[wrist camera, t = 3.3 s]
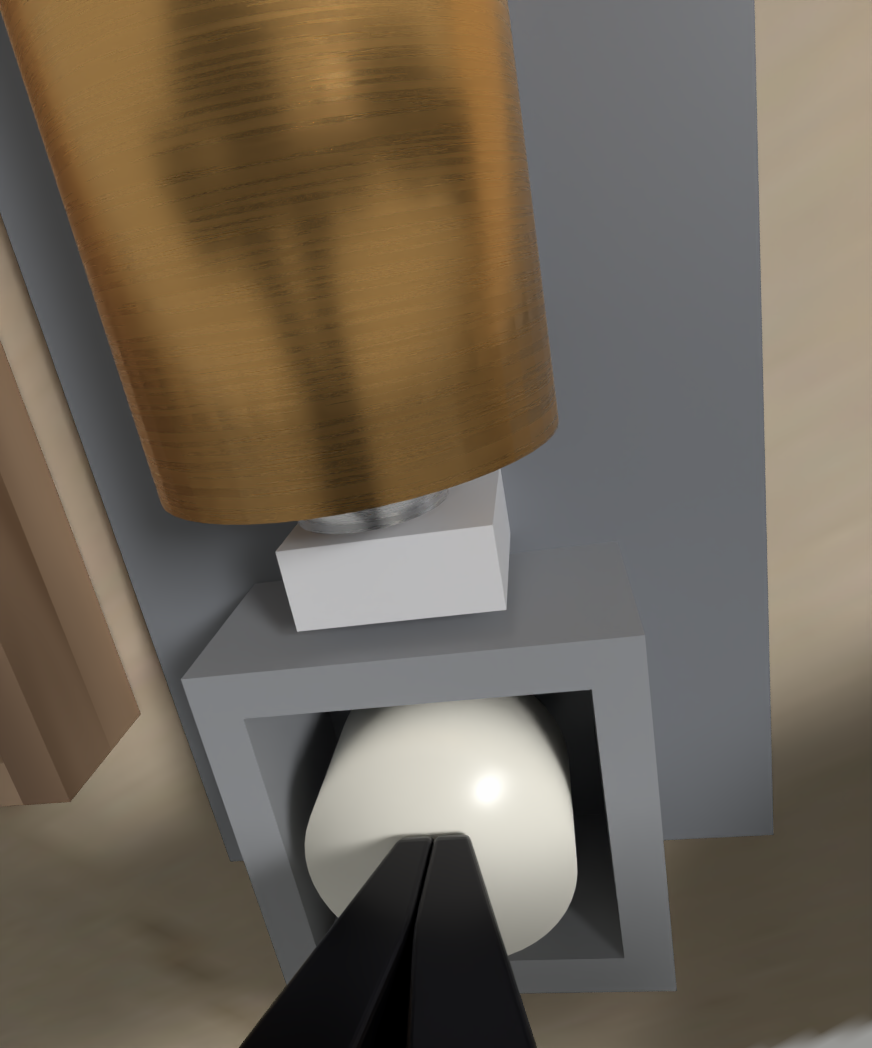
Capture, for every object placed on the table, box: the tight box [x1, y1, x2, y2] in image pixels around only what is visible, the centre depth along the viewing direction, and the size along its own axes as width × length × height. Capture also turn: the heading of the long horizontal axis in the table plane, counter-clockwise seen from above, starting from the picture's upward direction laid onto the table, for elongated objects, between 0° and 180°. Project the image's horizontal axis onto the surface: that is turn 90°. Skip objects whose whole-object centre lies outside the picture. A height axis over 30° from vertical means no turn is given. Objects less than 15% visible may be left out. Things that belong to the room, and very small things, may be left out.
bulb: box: [305, 695, 577, 955], centre depth 9 cm, size 3×3×2 cm
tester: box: [0, 0, 773, 993], centre depth 8 cm, size 9×18×4 cm, turn 10°
